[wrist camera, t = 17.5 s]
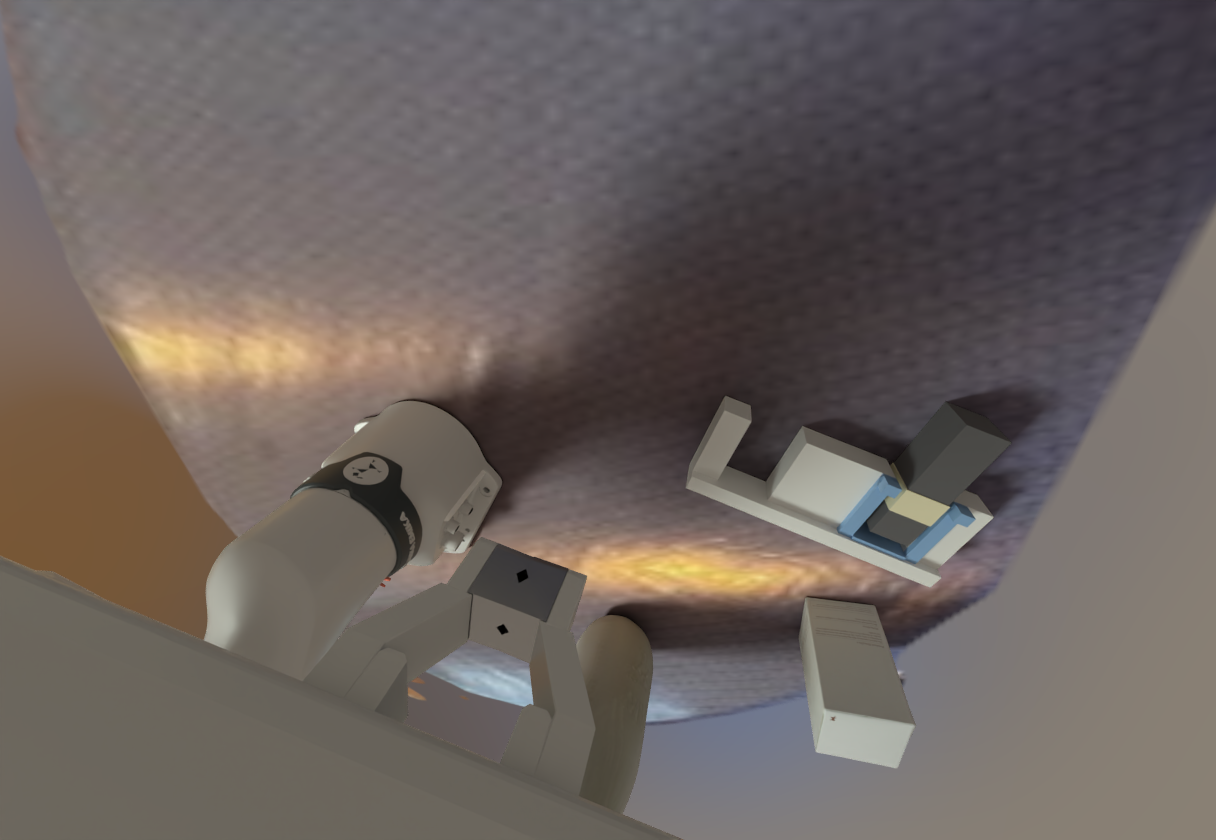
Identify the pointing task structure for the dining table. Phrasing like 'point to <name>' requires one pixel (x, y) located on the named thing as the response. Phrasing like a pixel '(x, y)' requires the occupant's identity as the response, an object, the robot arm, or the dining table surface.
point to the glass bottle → (615, 706)
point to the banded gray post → (936, 471)
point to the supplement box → (853, 684)
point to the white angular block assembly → (828, 496)
